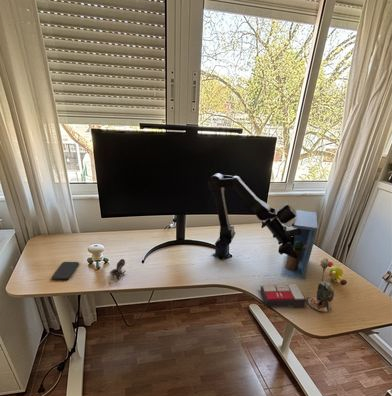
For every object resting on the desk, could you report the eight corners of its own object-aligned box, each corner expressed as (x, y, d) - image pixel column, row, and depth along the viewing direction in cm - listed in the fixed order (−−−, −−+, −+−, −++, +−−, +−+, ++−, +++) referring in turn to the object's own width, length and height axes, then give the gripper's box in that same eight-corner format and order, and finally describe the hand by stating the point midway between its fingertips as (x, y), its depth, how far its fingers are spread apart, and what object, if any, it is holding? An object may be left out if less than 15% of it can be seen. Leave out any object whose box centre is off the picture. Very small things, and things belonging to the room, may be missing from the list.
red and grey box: (260, 283, 119) (297, 282, 119) (259, 292, 121) (295, 291, 121) (266, 299, 110) (306, 298, 110) (265, 308, 112) (304, 307, 112)
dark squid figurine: (131, 276, 126) (129, 263, 132) (121, 266, 121) (119, 253, 127) (117, 285, 127) (115, 272, 133) (106, 276, 122) (105, 262, 128)
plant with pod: (312, 315, 108) (327, 268, 97) (305, 298, 118) (317, 253, 107) (334, 317, 108) (351, 269, 97) (325, 299, 117) (340, 254, 107)
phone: (79, 261, 136) (68, 278, 123) (79, 263, 136) (69, 280, 123) (63, 261, 135) (50, 278, 123) (63, 263, 136) (51, 279, 123)
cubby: (283, 275, 132) (294, 224, 119) (286, 256, 149) (296, 209, 136) (303, 279, 130) (317, 228, 117) (304, 259, 147) (316, 212, 134)
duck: (284, 269, 137) (290, 242, 129) (285, 263, 142) (290, 237, 134) (300, 271, 135) (307, 244, 128) (300, 266, 140) (307, 239, 133)
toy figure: (320, 270, 137) (324, 257, 134) (332, 271, 137) (336, 258, 134) (334, 292, 122) (339, 278, 118) (347, 292, 122) (352, 278, 118)
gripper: (291, 226, 119) (313, 254, 123) (293, 212, 134) (312, 238, 138) (269, 240, 126) (290, 267, 129) (273, 226, 141) (292, 250, 144)
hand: (297, 255), depth 135 cm, fingers closed on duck, 6 cm apart
